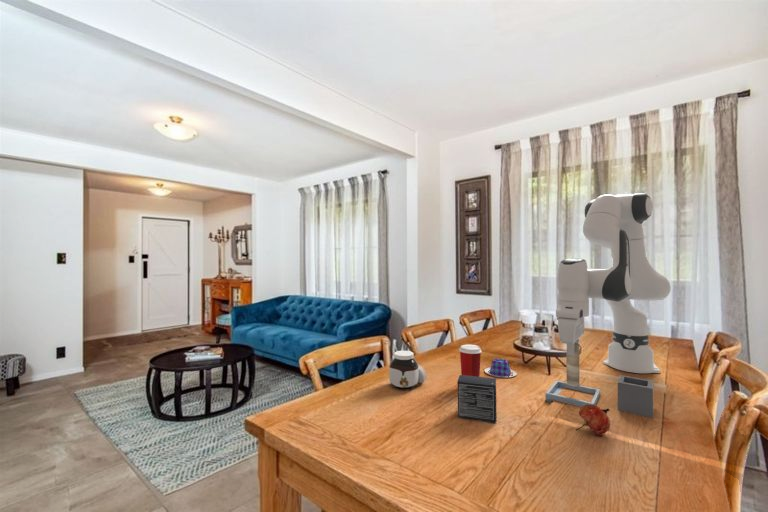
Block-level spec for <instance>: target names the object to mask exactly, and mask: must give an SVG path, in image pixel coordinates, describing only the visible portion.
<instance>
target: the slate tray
mask: <svg viewBox="0 0 768 512" xmlns="http://www.w3.org/2000/svg"><path fill="white" fill-rule="evenodd" d="M563 389H570V390H574V391H578V392H582V393H587V394H593V397H592V399H591V402H590V401H585V400H582V399H577V398H572V397H569V396H568V397H567V396H564V395H560V393H561V392H562V390H563ZM600 396H601V389H598V388H594V387H589V386H584V385H580V386H578V387H574V386H569V385H567V381H566V382H564V381H560V380H555V381H554V382H553V384H552V385H551V386H550V387H549V388H548V389H547V390H546V392H545V402H548V403H554V401H557V402H561V403H565V404H569V405H574V406H577V407H581V408H582V407H583V406H584V405H587V404H590V405H595V406H597V405H596V404H597V403H598V400H599V398H600Z"/></svg>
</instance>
